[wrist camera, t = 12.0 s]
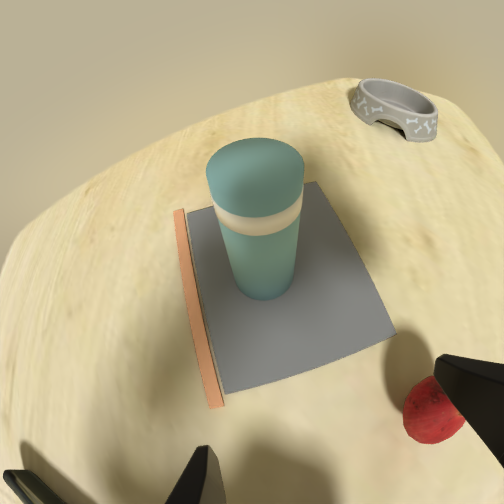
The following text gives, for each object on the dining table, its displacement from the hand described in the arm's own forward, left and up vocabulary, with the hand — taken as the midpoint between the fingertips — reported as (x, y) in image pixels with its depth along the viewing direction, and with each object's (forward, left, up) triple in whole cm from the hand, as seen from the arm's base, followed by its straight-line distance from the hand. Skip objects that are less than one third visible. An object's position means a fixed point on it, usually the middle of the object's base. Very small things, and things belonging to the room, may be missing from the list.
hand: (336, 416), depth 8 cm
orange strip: (+4, +14, -14) cm, 20 cm away
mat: (+11, +8, -14) cm, 19 cm away
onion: (+4, -10, -14) cm, 18 cm away
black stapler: (-27, +11, -14) cm, 32 cm away
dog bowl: (+51, +4, -14) cm, 53 cm away
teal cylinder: (+9, +9, -13) cm, 19 cm away
